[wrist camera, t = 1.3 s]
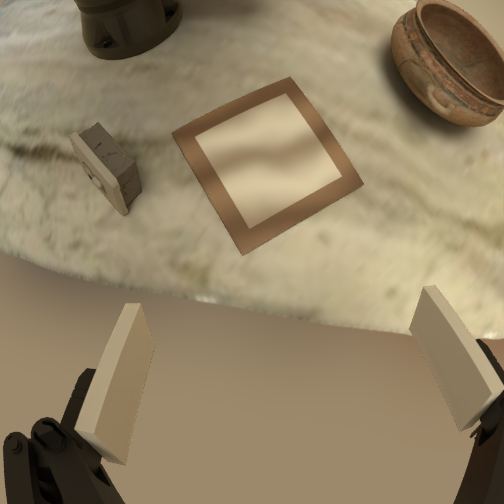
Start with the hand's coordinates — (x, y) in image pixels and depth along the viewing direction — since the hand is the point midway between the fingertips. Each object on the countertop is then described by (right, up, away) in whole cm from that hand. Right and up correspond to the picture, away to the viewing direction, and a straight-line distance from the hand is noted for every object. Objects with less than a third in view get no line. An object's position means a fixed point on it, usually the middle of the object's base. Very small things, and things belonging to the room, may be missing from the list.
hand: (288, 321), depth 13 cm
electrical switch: (-17, +12, +19) cm, 28 cm away
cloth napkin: (0, +14, +19) cm, 24 cm away
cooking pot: (+25, +28, +21) cm, 43 cm away
